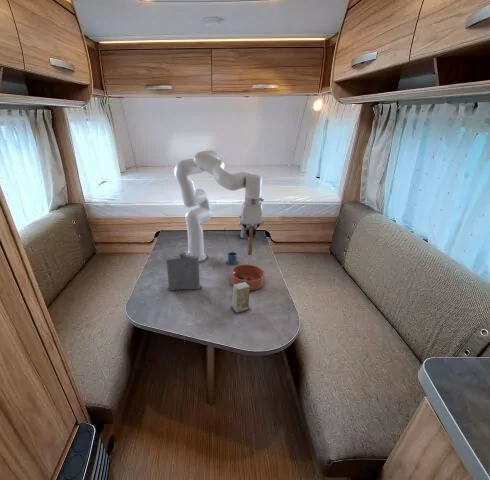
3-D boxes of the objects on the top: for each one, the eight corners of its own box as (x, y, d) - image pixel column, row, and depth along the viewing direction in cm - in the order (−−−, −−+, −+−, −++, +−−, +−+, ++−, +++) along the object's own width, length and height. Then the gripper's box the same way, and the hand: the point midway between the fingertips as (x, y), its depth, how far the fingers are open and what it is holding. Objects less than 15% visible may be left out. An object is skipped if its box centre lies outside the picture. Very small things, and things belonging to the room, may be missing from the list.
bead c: (247, 283, 137) (245, 279, 140) (251, 284, 139) (248, 281, 141) (251, 279, 137) (248, 275, 139) (255, 280, 138) (252, 277, 141)
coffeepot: (235, 236, 200) (235, 213, 193) (242, 232, 207) (242, 210, 200) (253, 241, 191) (254, 217, 184) (259, 237, 198) (261, 213, 191)
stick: (247, 255, 139) (249, 226, 132) (247, 253, 141) (248, 225, 134) (251, 255, 139) (253, 226, 132) (251, 253, 141) (252, 225, 134)
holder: (228, 265, 159) (228, 256, 157) (227, 260, 164) (227, 252, 162) (237, 264, 159) (237, 255, 157) (236, 260, 164) (236, 251, 162)
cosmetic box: (236, 313, 118) (237, 289, 113) (232, 307, 122) (232, 284, 117) (249, 309, 120) (250, 286, 116) (244, 303, 124) (245, 281, 119)
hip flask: (168, 290, 136) (165, 255, 128) (169, 285, 139) (166, 251, 131) (199, 289, 136) (198, 254, 128) (199, 284, 140) (198, 250, 132)
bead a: (237, 279, 143) (235, 278, 141) (239, 274, 144) (238, 273, 141) (242, 281, 142) (240, 280, 139) (244, 276, 142) (243, 275, 140)
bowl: (232, 291, 133) (232, 281, 131) (229, 274, 149) (229, 264, 147) (266, 291, 133) (267, 280, 131) (260, 273, 149) (260, 264, 147)
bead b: (239, 281, 138) (243, 277, 137) (242, 281, 140) (245, 277, 140) (243, 285, 136) (247, 281, 136) (246, 285, 139) (249, 281, 138)
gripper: (267, 198, 132) (264, 233, 139) (235, 199, 132) (234, 233, 139) (270, 202, 125) (267, 238, 132) (236, 203, 125) (235, 239, 132)
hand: (250, 235), depth 136 cm, fingers closed on stick, 2 cm apart
